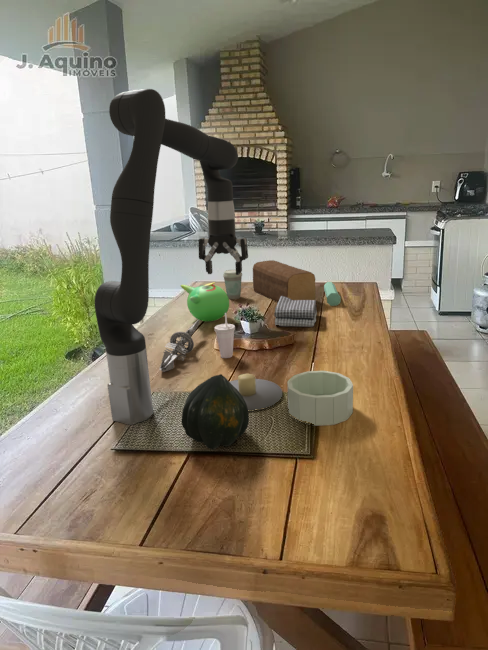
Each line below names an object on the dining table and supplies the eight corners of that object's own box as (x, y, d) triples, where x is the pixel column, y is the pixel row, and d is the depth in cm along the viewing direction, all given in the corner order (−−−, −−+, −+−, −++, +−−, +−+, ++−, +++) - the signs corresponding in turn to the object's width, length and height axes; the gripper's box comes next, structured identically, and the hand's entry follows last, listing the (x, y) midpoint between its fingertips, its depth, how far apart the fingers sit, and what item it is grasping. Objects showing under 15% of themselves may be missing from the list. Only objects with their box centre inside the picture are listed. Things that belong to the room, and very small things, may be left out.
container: (325, 278, 232) (329, 290, 208) (337, 282, 232) (343, 295, 208) (320, 289, 234) (324, 303, 210) (332, 294, 234) (337, 308, 210)
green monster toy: (236, 322, 194) (234, 284, 189) (193, 330, 188) (190, 291, 183) (220, 311, 210) (218, 276, 205) (180, 317, 204) (177, 281, 199)
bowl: (338, 430, 114) (339, 402, 112) (278, 417, 121) (277, 390, 119) (360, 402, 126) (360, 376, 124) (303, 392, 133) (303, 367, 131)
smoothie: (234, 360, 157) (231, 316, 153) (214, 359, 159) (210, 316, 154) (238, 352, 163) (236, 310, 159) (219, 352, 165) (216, 310, 160)
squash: (175, 441, 102) (219, 380, 102) (165, 411, 116) (204, 358, 116) (229, 472, 108) (272, 414, 107) (213, 440, 122) (251, 389, 121)
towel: (273, 328, 186) (273, 307, 184) (278, 313, 203) (277, 294, 201) (316, 328, 183) (315, 307, 181) (317, 313, 201) (317, 294, 198)
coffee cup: (221, 299, 227) (220, 273, 223) (227, 295, 235) (226, 269, 231) (240, 300, 225) (238, 273, 221) (245, 295, 232) (244, 269, 229)
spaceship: (212, 315, 177) (191, 306, 177) (177, 363, 146) (152, 352, 146) (206, 334, 181) (185, 326, 181) (171, 384, 149) (146, 374, 150)
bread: (278, 287, 245) (277, 257, 241) (316, 303, 215) (316, 269, 211) (252, 291, 240) (250, 261, 235) (287, 308, 210) (286, 274, 206)
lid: (262, 418, 122) (261, 397, 120) (199, 404, 130) (197, 384, 129) (293, 389, 136) (293, 369, 135) (235, 378, 145) (234, 359, 144)
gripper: (193, 219, 144) (196, 276, 148) (242, 218, 140) (244, 277, 144) (202, 216, 150) (205, 271, 155) (249, 216, 147) (251, 272, 151)
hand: (224, 274), depth 150 cm, fingers open, 8 cm apart
